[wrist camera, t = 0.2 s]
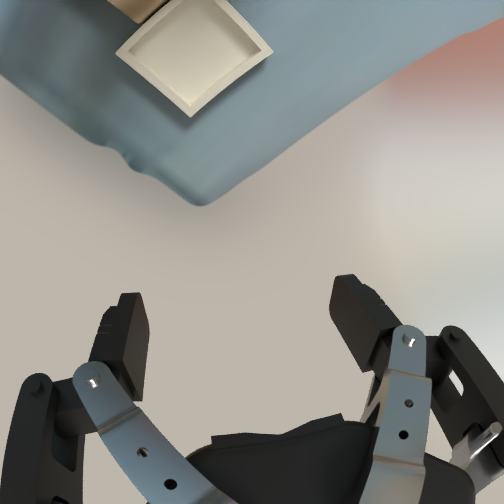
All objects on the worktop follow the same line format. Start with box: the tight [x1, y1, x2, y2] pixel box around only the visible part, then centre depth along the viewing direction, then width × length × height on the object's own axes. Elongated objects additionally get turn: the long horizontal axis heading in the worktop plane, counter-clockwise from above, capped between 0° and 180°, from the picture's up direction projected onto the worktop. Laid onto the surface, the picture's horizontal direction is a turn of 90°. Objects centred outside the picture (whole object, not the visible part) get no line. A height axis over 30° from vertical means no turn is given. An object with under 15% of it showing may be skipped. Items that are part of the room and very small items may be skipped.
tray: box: [115, 0, 273, 118], centre depth 26 cm, size 13×13×2 cm
